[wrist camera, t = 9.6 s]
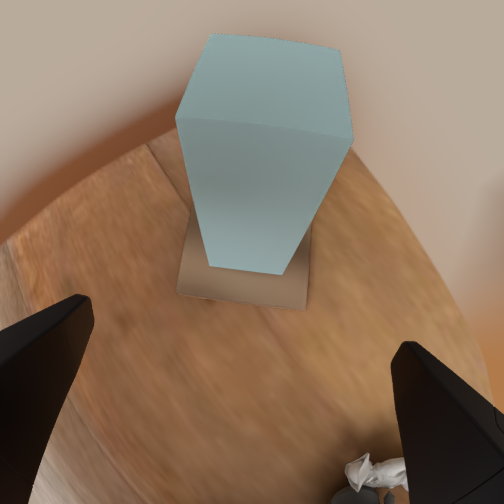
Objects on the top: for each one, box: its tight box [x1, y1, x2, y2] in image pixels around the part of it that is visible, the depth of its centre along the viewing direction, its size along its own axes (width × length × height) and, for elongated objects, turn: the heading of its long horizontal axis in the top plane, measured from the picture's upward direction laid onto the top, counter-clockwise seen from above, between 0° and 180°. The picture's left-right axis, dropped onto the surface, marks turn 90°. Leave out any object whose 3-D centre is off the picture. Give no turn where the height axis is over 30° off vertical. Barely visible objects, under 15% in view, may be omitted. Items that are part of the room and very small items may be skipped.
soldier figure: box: [345, 453, 408, 492], centre depth 16 cm, size 8×5×12 cm
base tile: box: [175, 202, 312, 311], centre depth 23 cm, size 9×9×2 cm
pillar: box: [175, 34, 354, 275], centre depth 15 cm, size 5×5×14 cm
